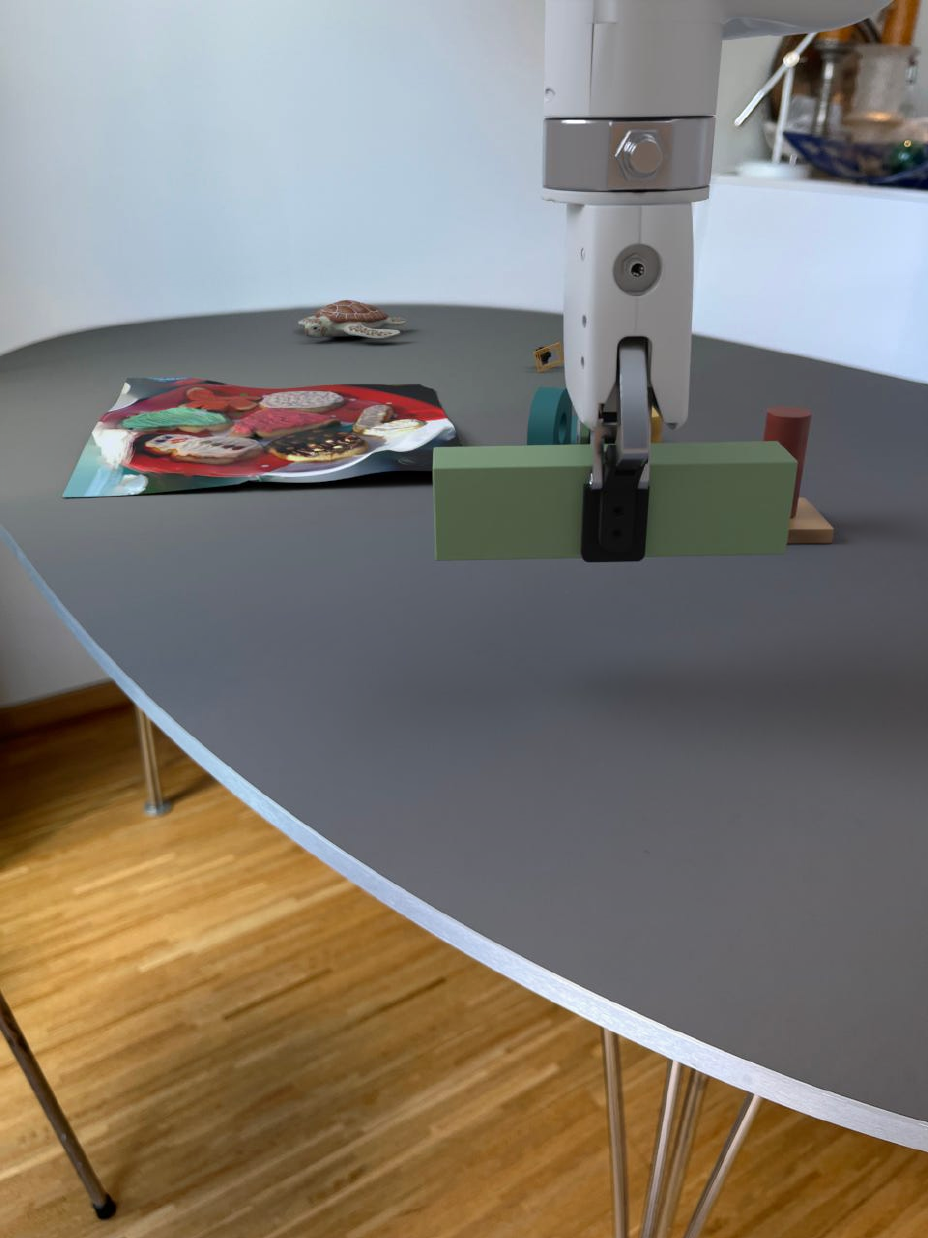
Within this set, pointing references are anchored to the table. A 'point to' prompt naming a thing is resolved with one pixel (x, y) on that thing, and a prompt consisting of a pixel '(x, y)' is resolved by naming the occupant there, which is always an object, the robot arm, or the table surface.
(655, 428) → the rods
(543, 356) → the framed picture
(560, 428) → the bracket
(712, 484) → the bar
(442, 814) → the table surface
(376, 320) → the decorative turtle
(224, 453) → the printed food placemat
